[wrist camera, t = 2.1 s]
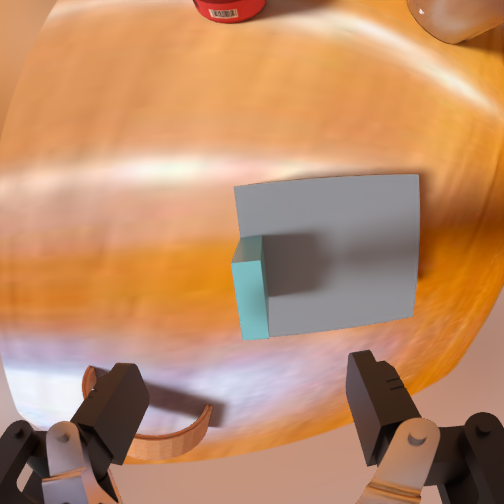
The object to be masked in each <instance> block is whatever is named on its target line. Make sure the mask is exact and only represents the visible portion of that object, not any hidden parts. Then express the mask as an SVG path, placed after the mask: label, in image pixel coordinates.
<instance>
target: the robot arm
mask: <svg viewBox="0 0 504 504" xmlns="http://www.w3.org/2000/svg"><path fill="white" fill-rule="evenodd" d="M407 4H408V7H409V9H410V11H411V13H412V15H413V16H414V18H415V19H416V20H417V21H418V23H419V24H420V25H421V26H422V27H423V28H424V29H425V30H426V31H427V32H429V33H430V34H431V35H432V36H434V37H436V38H437V39H439V40H441V41H443V42H446V43H450V44H456V43H459V42H461V41H463V40H466V41H468V40H470V39H472V38H474V37H476V36H478V35H480V34H482V33H484V32H486V31H488V30H490V29H492V28H494V27H496V26H499V25H501V24H503V23H504V0H407ZM346 395H347V400H348V403H349V406H350V409H351V413H352V416H353V419H354V423H355V426H356V429H357V433H358V436H359V440H360V443H361V446H362V450H363V453H364V457H365V461H366V464H367V466H372V465H376V464H377V467H378V469H377V471H376V473H375V474H374V476H373V478H372V480H371V482H370V483H369V484H368V485H367V486H366V488H365V490H364V491H363V493H362V494H361V496H360V498H359V499H358V501H357V503H356V504H419V503H420V501H421V496H420V493H421V490H422V488H423V486H432V485H437V487H438V490H439V493H440V497H441V500H442V504H504V428H503V426H502V424H501V422H500V421H499V420H498V418H497V417H496V416H494V415H493V414H490V413H486V412H480V413H476V414H474V415H472V416H471V417H470V418H469V419H468V420H467V421H466V423H465V425H463V426H455V427H437V425H436V424H435V423H434V422H432V421H431V420H428V419H425V418H422V417H421V415H420V414H419V412H418V410H417V408H416V406H415V404H414V402H413V401H412V399H411V397H410V395H409V393H408V391H407V389H406V388H405V387H404V384H403V382H402V380H401V379H400V377H399V375H398V373H397V372H396V370H395V368H394V367H393V366H391V365H390V364H388V363H387V362H386V361H379V362H376V360H375V358H374V356H373V354H372V352H371V351H370V350H365V351H359V352H353V353H349V356H348V366H347V377H346ZM148 405H149V394H148V391H147V388H146V386H145V384H144V381H143V379H142V376H141V374H140V371H139V369H138V367H137V365H136V364H132V363H116V364H115V365H114V367H113V368H112V370H111V371H110V373H109V374H106V375H105V376H103V377H102V378H101V379H99V380H98V381H97V382H96V384H95V385H94V387H93V388H92V391H90V392H89V394H88V395H87V398H85V400H84V401H83V403H82V404H81V406H80V407H79V409H78V410H77V412H76V413H75V414H74V416H73V417H72V419H71V420H70V422H68V421H62V422H58V423H56V424H54V425H53V426H52V427H51V428H50V429H49V430H48V431H34V429H33V428H32V427H31V425H30V424H29V423H28V422H27V421H24V420H19V421H16V422H13V423H12V424H11V425H10V426H9V427H8V428H7V429H6V431H5V432H4V434H3V435H2V436H1V438H0V504H124V503H123V501H122V499H121V496H120V494H119V491H118V489H117V486H116V484H115V481H114V478H113V476H112V473H111V471H110V469H109V466H110V463H113V464H117V465H122V464H123V462H124V460H125V457H126V455H127V453H128V450H129V448H130V446H131V443H132V441H133V439H134V437H135V434H136V432H137V430H138V428H139V425H140V423H141V421H142V419H143V416H144V414H145V412H146V410H147V407H148ZM26 463H27V464H28V465H29V466H30V467H31V468H32V469H33V472H32V474H31V476H30V478H29V480H28V482H27V484H26V485H25V487H24V489H23V491H22V492H20V491H19V489H18V488H17V483H16V482H17V479H18V477H19V475H20V473H21V471H22V469H23V468H24V466H25V464H26Z"/></svg>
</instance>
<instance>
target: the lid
mask: <svg viewBox="0 0 504 504" xmlns="http://www.w3.org/2000/svg"><path fill="white" fill-rule="evenodd" d="M234 191H235V199H236V207H237V215H238V223H239V230H240V240H239V243H238V246H237V248H236V251H235V254H234V256H233V259H232V262H231V267H232V273H233V280H234V287H235V293H236V300H237V306H238V313H239V319H240V325H241V332H242V338H243V340H256V339H269V337H277V336H288V335H297V334H306V333H315V332H323V331H331V330H338V329H345V328H352V327H358V326H365V325H371V324H377V323H382V322H388V321H393V320H399V319H404V318H409V317H413V311H414V304H415V295H416V286H417V275H418V261H419V241H420V193H419V174H387V175H360V176H341V177H325V178H312V179H299V180H288V181H278V182H268V183H258V184H249V185H241V186H235V187H234Z"/></svg>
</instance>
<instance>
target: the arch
mask: <svg viewBox="0 0 504 504" xmlns="http://www.w3.org/2000/svg"><path fill="white" fill-rule="evenodd" d="M94 370H95V369H94V368H93V367H92V368H91V366H89V367H88V368H87V369H86V371H85V373H84V376H83V380H82V392H83V398H84V400H85V398H87V395H88V394H89V392H90V391H92V388H93V387H94V385H95V384H96V382H97V380H96V373H95V371H94ZM212 407H213V405H211V406H209V405H208V404H207V405H206V406H205V409H204V411H203V413H202V415H201V416H200V417H199V418H198V419H197V420H196V421H195V422H194V423H193V424H191V425H190V426H189V427H187V428H185V429H183V430H181V431H178V432H175V433H172V434H167V435H159V436H151V435H141V434H135V437H134V439H133V441H132V443H131V446H130V448H129V450H128V453H127V455H128V456H131V457H134V458H139V459H145V460H164V459H171V458H174V457H177V456H180V455H183V454H185V453H187V452H188V451H190V450H192V449H193V448H194V447H195V446H197V445H198V444H199V443H200V441H201V440H202V439H203V438H204V436H205V434H206V432H207V429H208V424H209V420H210V416H211V411H212Z"/></svg>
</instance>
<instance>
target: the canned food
mask: <svg viewBox="0 0 504 504" xmlns="http://www.w3.org/2000/svg"><path fill="white" fill-rule="evenodd" d="M193 2H194V4H195V6H196V8H197V10H198V11H199V13H200V14H202V15H203V16H204V17H206V18H207V19H209V20H211V21H214V22H219V23H237V22H241V21H244V20H247V19H250V18H251V17H253V16H255V15H256V14H258V13H259V12H260V11H261V10H262V9H263V7H264V6H265V4H266V2H267V0H193Z"/></svg>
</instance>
